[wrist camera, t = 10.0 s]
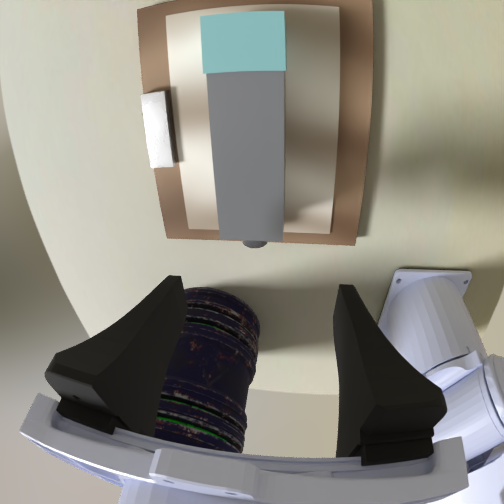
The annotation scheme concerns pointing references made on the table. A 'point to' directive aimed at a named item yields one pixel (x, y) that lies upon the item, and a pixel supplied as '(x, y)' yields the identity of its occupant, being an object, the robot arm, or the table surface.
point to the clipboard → (297, 115)
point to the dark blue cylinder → (210, 373)
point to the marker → (247, 121)
